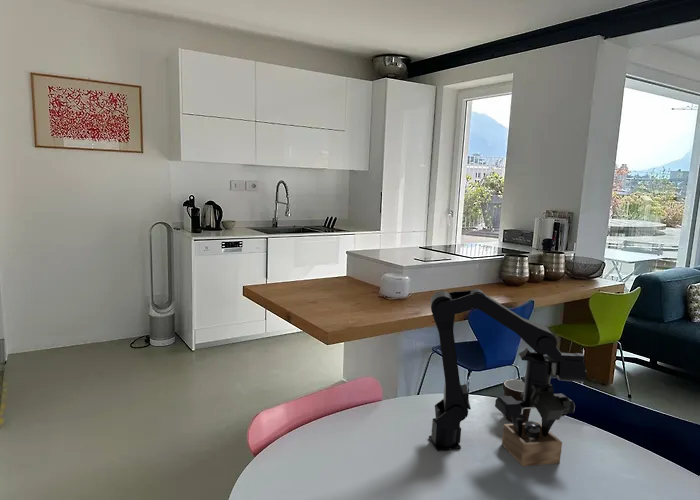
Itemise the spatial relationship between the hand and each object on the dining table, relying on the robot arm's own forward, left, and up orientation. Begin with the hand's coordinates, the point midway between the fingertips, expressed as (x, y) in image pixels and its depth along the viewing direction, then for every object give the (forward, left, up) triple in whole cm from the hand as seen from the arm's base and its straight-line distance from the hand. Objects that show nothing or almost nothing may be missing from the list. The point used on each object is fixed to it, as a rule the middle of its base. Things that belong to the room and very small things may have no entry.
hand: (531, 436), depth 124 cm
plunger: (0, 0, -3) cm, 3 cm away
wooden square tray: (0, 0, -4) cm, 4 cm away
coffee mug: (+7, +19, -5) cm, 21 cm away
